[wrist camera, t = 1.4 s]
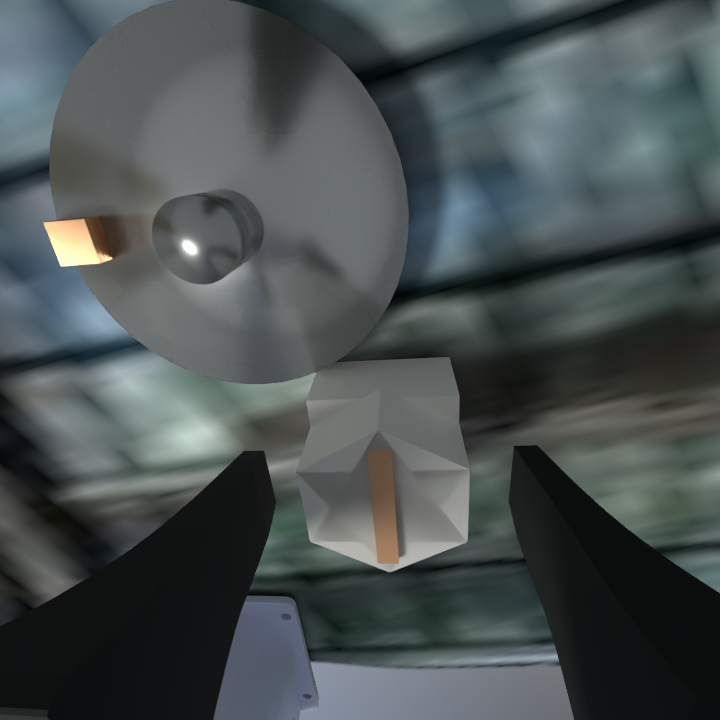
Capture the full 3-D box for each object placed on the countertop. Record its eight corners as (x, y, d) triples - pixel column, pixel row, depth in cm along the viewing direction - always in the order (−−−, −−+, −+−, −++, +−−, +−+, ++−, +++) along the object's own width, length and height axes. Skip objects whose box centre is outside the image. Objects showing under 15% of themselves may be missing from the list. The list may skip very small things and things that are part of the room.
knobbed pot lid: (413, 363, 14) (417, 416, 11) (138, 375, 15) (78, 426, 12) (399, -16, 10) (402, -87, 7) (16, 39, 11) (-121, -4, 8)
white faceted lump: (448, 467, 16) (467, 579, 12) (335, 469, 16) (315, 577, 12) (449, 347, 14) (473, 432, 10) (318, 353, 14) (286, 437, 10)
